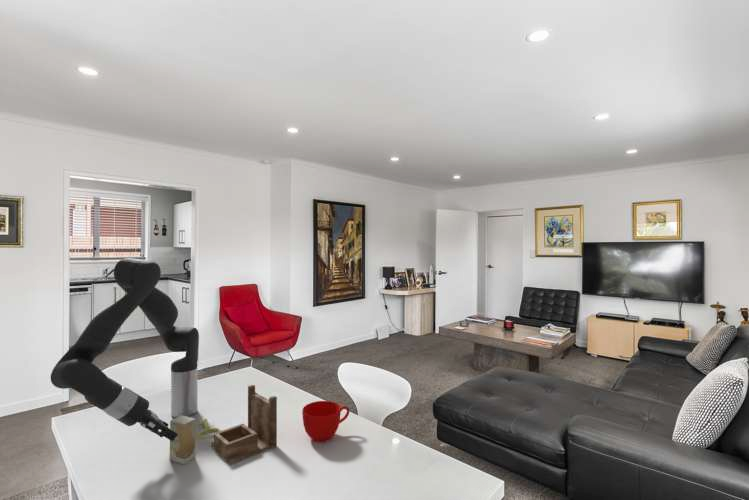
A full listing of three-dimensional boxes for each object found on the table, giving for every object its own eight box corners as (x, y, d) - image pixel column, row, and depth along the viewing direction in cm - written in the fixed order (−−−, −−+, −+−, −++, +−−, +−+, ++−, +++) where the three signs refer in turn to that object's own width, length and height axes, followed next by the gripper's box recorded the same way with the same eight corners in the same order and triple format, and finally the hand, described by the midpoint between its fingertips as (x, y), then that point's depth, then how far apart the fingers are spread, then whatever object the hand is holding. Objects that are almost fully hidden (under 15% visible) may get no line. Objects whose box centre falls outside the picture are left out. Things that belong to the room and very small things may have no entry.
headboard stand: (209, 445, 125) (209, 396, 125) (253, 429, 136) (253, 384, 136) (232, 466, 113) (232, 412, 113) (278, 446, 124) (278, 397, 124)
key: (206, 423, 141) (205, 417, 141) (222, 434, 133) (222, 428, 133) (186, 430, 136) (186, 425, 136) (202, 442, 128) (202, 436, 128)
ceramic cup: (357, 438, 130) (357, 408, 130) (310, 451, 121) (310, 420, 121) (341, 422, 141) (341, 395, 141) (296, 434, 132) (296, 405, 132)
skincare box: (168, 460, 116) (168, 420, 116) (180, 453, 120) (180, 414, 120) (184, 465, 114) (184, 424, 114) (196, 457, 118) (196, 418, 118)
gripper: (143, 400, 103) (188, 428, 111) (129, 386, 113) (172, 413, 121) (120, 426, 99) (168, 453, 108) (108, 410, 110) (153, 436, 118)
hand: (170, 432), depth 115 cm, fingers open, 8 cm apart
